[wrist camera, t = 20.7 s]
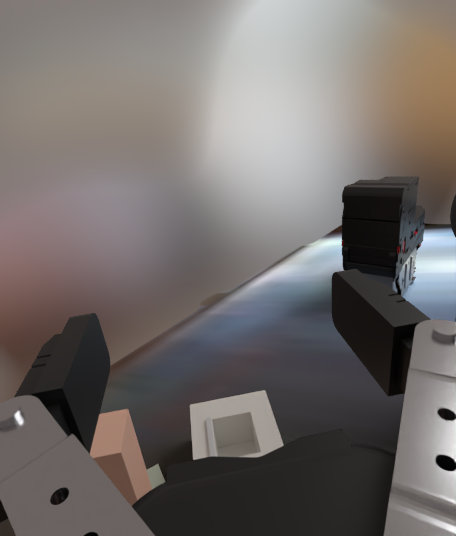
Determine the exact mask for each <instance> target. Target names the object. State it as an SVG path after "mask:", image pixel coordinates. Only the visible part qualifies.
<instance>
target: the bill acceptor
mask: <svg viewBox="0 0 456 536" xmlns="http://www.w3.org/2000/svg"><path fill="white" fill-rule="evenodd" d="M418 179H419V177H384V178H382V179H380V180H359V181H357V182H355V183H354V184H351V185H347V186H345V187H344V190H343V194H342V202H343V203H344V210H343V216H342V240H343V241H342V255H343V269H344V270H345V271H347V270H352V269H357V270H359V271H360V272H361V273H362V274H363V275H365V276H366V277H367V278H368V279H369V280H375V281H378V282H380V283H383V284H385V285H388V286H389V287H390V288H392V289H393V290H394V291H395V292H397V293H398V295H400V296H403V295H404V293H405V291H406V289H407V288H408V287H409V285H410V283H411V282H412V283H414V280H415V278H416V277H413V274H414V272H415V269H416V267H415V261H416V255H417V250H418V248H419V247H420V246H421V243H422V241H423V233H424V218H425V209H424V208H423V207H421V206H416V203H417V190H418Z"/></svg>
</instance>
